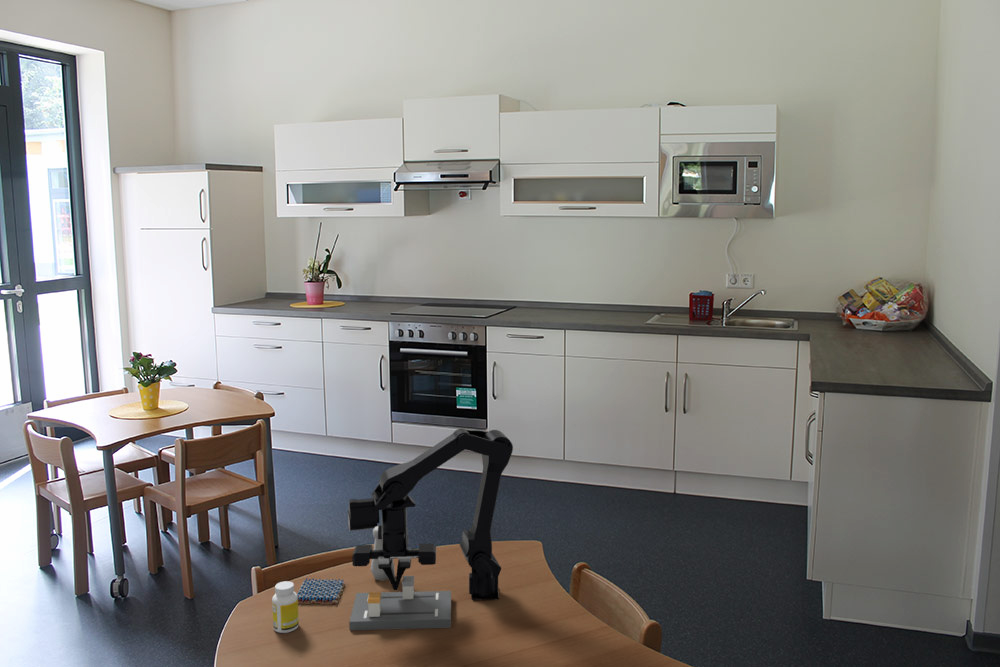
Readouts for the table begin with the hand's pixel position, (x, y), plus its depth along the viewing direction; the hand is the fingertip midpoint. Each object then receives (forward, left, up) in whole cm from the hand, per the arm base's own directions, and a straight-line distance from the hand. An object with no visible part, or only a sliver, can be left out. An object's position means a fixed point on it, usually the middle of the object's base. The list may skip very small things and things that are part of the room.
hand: (395, 589), depth 185 cm
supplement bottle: (+23, +9, -4) cm, 25 cm away
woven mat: (+18, -7, -5) cm, 20 cm away
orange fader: (+4, +8, -2) cm, 9 cm away
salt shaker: (+4, -14, -4) cm, 16 cm away
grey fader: (-3, 0, -2) cm, 3 cm away
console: (-2, +4, -4) cm, 6 cm away
